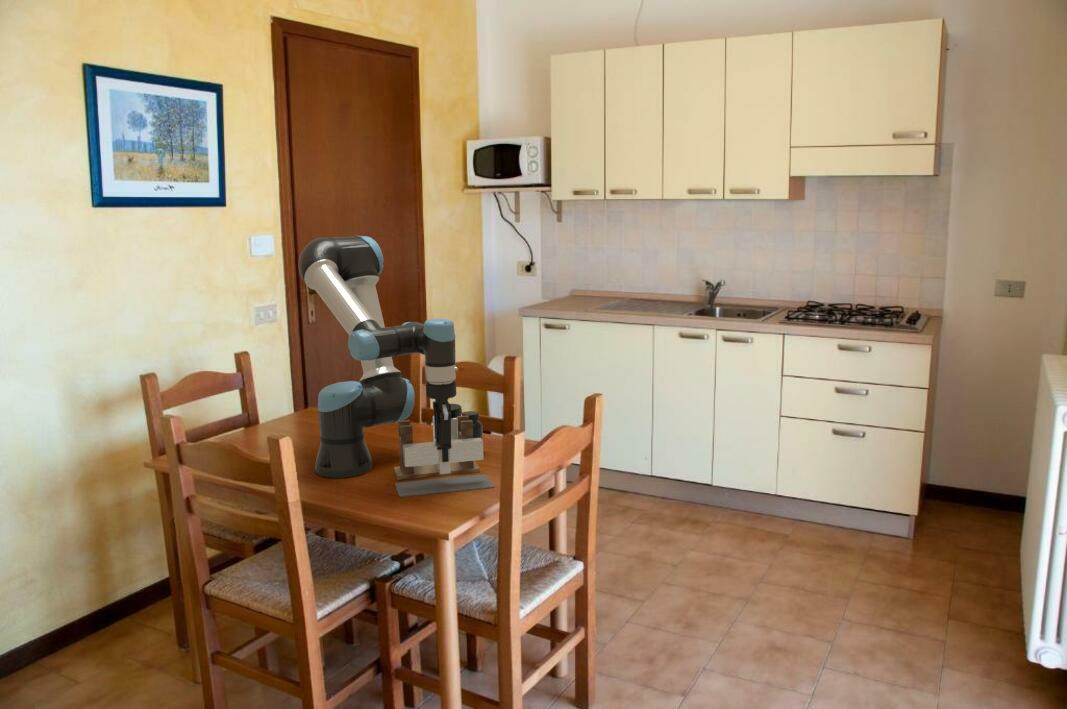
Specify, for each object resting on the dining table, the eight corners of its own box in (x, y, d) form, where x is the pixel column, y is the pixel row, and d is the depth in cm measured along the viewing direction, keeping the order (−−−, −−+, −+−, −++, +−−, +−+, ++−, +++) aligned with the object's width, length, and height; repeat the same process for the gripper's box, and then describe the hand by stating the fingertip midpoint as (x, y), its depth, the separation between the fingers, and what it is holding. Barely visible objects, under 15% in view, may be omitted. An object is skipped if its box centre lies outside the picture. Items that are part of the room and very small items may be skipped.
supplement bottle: (483, 456, 240) (482, 415, 238) (458, 457, 240) (457, 416, 237) (483, 449, 247) (482, 409, 244) (459, 450, 246) (458, 410, 244)
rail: (405, 467, 211) (404, 447, 210) (403, 463, 214) (402, 444, 213) (483, 459, 216) (483, 440, 215) (481, 456, 219) (480, 437, 218)
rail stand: (397, 479, 221) (395, 428, 219) (394, 470, 229) (392, 420, 226) (479, 472, 227) (478, 421, 224) (473, 463, 234) (472, 414, 232)
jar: (468, 446, 250) (467, 407, 247) (445, 452, 245) (444, 412, 242) (451, 440, 256) (450, 401, 254) (428, 445, 251) (427, 406, 249)
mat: (399, 497, 209) (399, 496, 209) (394, 484, 218) (394, 483, 218) (494, 487, 215) (494, 486, 215) (485, 475, 224) (485, 474, 224)
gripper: (461, 386, 205) (464, 479, 209) (450, 373, 220) (452, 460, 224) (430, 389, 203) (434, 482, 207) (421, 375, 218) (424, 462, 222)
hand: (443, 470), depth 216 cm, fingers closed on rail, 3 cm apart
